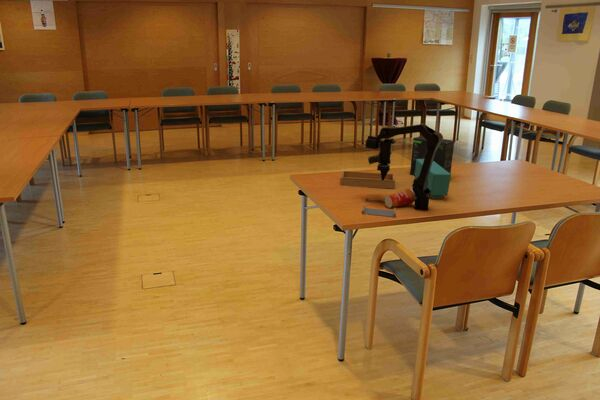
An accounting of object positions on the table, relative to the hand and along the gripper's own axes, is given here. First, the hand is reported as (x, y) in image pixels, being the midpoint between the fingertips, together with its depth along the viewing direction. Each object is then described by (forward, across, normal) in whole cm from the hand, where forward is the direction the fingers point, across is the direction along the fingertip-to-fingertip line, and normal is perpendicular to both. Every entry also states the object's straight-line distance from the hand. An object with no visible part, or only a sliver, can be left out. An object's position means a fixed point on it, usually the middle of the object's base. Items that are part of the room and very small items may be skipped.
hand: (382, 180), depth 272 cm
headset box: (+11, -58, +28) cm, 65 cm away
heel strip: (+11, +5, 0) cm, 12 cm away
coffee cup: (+8, +12, +4) cm, 15 cm away
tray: (+12, -29, -9) cm, 33 cm away
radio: (+11, -25, +27) cm, 38 cm away
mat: (+11, +22, 0) cm, 24 cm away
